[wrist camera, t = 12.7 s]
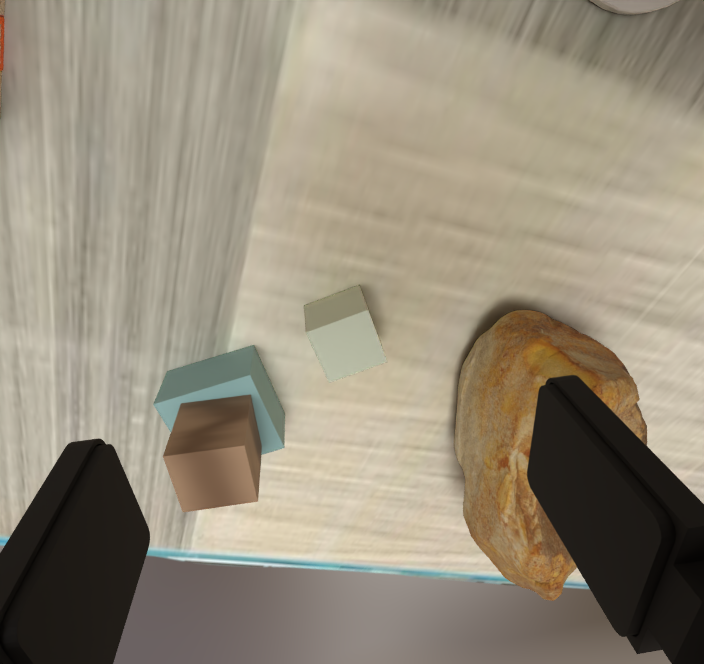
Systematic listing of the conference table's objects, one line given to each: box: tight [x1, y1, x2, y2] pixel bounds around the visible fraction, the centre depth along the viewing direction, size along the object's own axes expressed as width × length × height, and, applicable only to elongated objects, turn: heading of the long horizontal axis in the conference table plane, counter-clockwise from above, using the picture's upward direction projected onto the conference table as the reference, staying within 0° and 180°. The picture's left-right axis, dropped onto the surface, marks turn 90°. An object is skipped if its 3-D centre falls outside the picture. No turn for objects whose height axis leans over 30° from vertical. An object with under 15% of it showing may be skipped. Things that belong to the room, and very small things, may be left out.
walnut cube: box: [163, 394, 262, 512], centre depth 36 cm, size 6×6×6 cm
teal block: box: [153, 345, 285, 455], centre depth 41 cm, size 8×8×5 cm
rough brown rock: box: [454, 310, 647, 601], centre depth 41 cm, size 23×17×15 cm
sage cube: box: [304, 285, 387, 383], centre depth 38 cm, size 5×5×5 cm
